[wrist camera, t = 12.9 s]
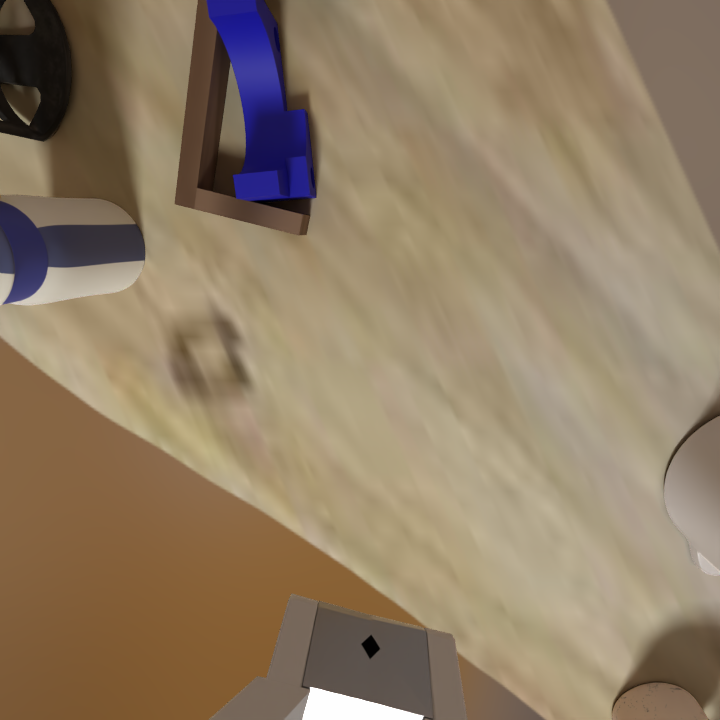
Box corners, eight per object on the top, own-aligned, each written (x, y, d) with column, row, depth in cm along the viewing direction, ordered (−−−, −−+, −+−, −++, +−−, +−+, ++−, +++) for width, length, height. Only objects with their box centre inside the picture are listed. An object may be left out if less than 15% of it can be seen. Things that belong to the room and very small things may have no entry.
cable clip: (316, 197, 36) (302, 192, 30) (261, 203, 37) (236, 198, 31) (298, 21, 33) (277, -22, 27) (237, 29, 33) (204, -12, 28)
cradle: (358, -28, 32) (354, -54, 29) (306, 234, 37) (298, 235, 34) (225, -61, 32) (208, -90, 29) (191, 206, 37) (174, 203, 34)
